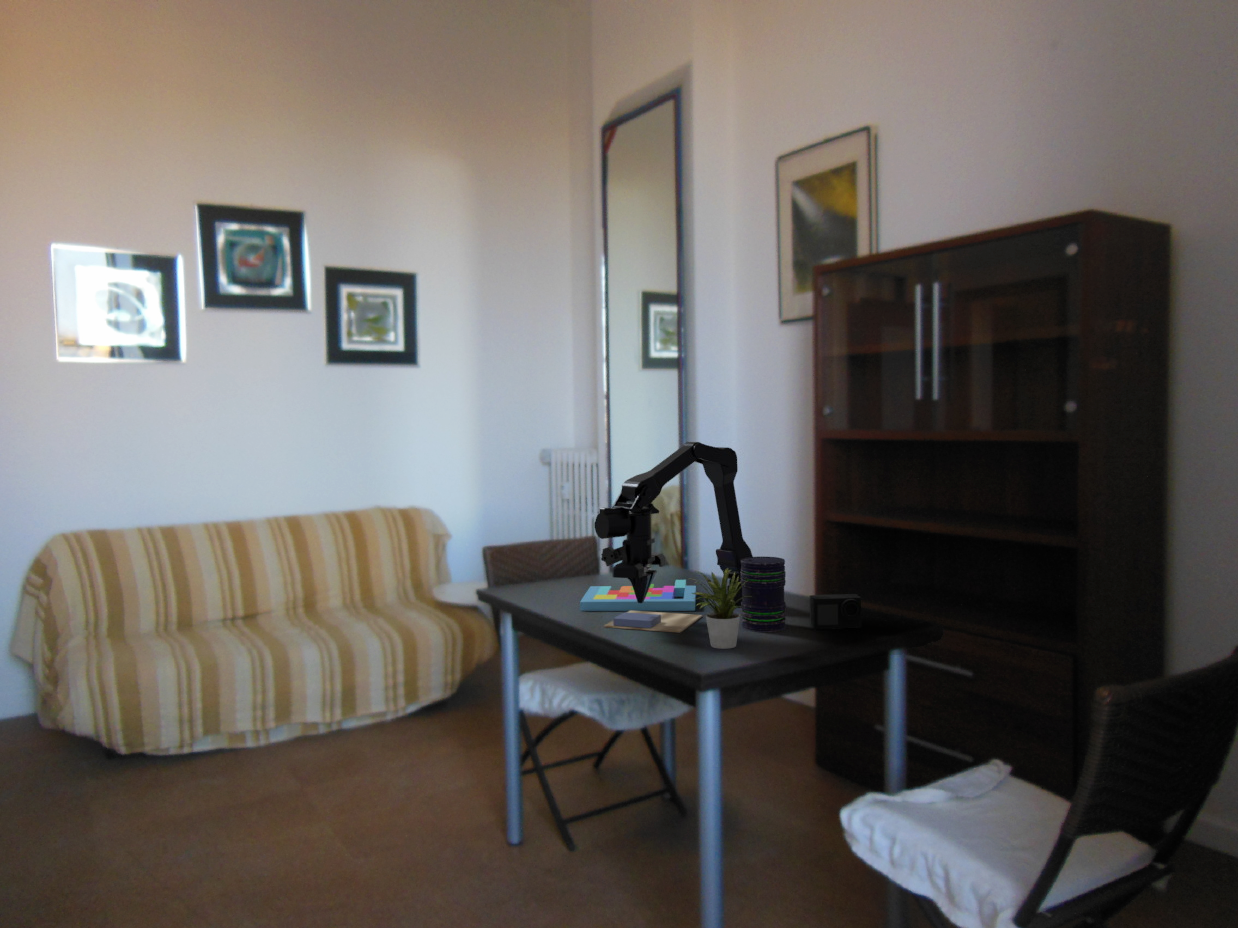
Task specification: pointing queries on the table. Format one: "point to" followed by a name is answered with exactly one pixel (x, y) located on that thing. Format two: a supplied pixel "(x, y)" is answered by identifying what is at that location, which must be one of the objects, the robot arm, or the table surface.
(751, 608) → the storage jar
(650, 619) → the card deck
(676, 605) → the tetris game
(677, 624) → the wooden mat
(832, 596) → the digital camera
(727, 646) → the house plant
